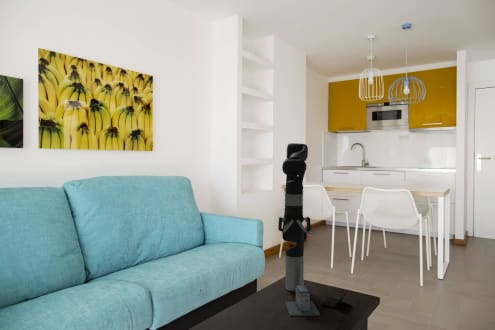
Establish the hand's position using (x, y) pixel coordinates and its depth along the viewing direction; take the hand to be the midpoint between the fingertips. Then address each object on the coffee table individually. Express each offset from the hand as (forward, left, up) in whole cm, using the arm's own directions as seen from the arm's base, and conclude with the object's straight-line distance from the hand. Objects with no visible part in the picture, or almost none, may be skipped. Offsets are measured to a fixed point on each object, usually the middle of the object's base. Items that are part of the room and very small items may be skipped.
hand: (294, 240), depth 161 cm
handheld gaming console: (-3, +19, -31) cm, 36 cm away
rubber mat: (+2, +3, -30) cm, 30 cm away
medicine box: (+2, +3, -30) cm, 30 cm away
